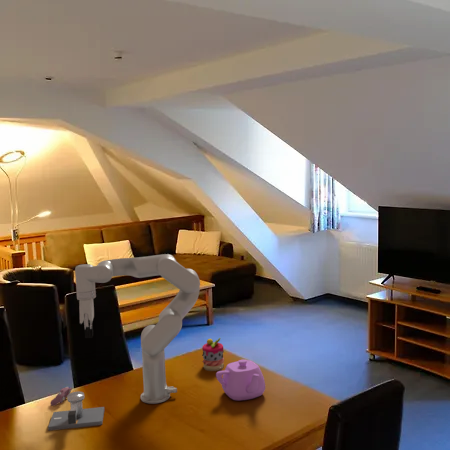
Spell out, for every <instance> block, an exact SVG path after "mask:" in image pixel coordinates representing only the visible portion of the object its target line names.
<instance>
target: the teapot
mask: <svg viewBox="0 0 450 450" xmlns="http://www.w3.org/2000/svg"><path fill="white" fill-rule="evenodd" d="M262 372H263V371H262V370H261V368H260V366H259V365H258V364H257V363H255V362H254V361H253V360H250V359H245V358H244V359H238V361H233V362H230V363H228V364H227V365H226V367H225V368H224V370H218V371H217V372H216V373H215V378H216V379H217V381H218V382H219V384H220V385H221V387H222V389H223V391H224V393H225V395H226V396H227V397H229V398H230V399H231V400H233V401H247V400H253V399H256V398H258V397H260V396H263V394H264V392H265V391H266V383H265V382H266V381H265V378H264V375H263V373H262Z"/></svg>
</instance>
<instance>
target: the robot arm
mask: <svg viewBox="0 0 450 450" xmlns="http://www.w3.org/2000/svg"><path fill="white" fill-rule="evenodd" d="M74 271H75V272H74V275H75V276H74V277H75V286H76V287H75V288H76V299H77V301H78V303H79V304H78V305H79V308H78V309H79V324H80V325H82V324H83V325H84V328H83V329H84V330H83V331H84V338H85V339H93V337H94V327H93V321H94V318H95V307H94V305H95V304H94V299H95V298H96V297H97V294H96V293H97V291H96V283H98V284H99V283H101V284H104V283H108V282H110V281H111V280H112V278H113V277H119V276H131V277H134V278H139V279H142V278H149V277H155V276H157V277H158V276H160V277H161V278H163V279H164V280H166V281H167V282H169V283H170V284H171V285H173V287H176V288H177V289H179V290H178V292H177V294H176V295H175V296H174V298H173V299H172V300H171V301H170V302H169V303H168V305H166V307H164V308H163V310H162V311H160V313H159V315H158V322H156V324H149V325H147V326H145V327H144V328H143V330H142V331H141V335H140V347H141V358H142V364H141V365H142V378H143V379H142V380H143V392H142V393H141V394H140V400H141V402H143V403H145V404H152V405H154V404H160V403H163V402H166V401H168V400H169V399H170V398H171V394H172V393H175V394H176V393H178V388H177V387H174V386H169V385H167V378H166V377H167V376H166V358H165V357H166V355H165V354H166V353H165V349H166V348H168V346H169V345H170V343H171V342H172V341H173V340H174V339H176V337H177V336H178V335H179V334H180V332H181V330H182V327H183V319H185V317H186V316H187V314H188V313H189V312H190V311H191V310H192V308H193V307H194V306H195V304H196V302H197V301H198V299H199V295H200V291H201V290H200V289H201V287H200V286H201V280H200V278H199V275H198V273H197V272H196V271H195V269H194V270H193V269H192V268H185V266H183V265H182V264H180V263H179V262H178V261H177V259H176V258H175V257H174V256H173V255H172V254H169V253H167V254H166V253H164V254H163V253H162V254H156V255H148V256H139V257H125V258H124V257H122V258H113V259H112V258H111V259H106V260H101V261H100V262H98V263H97V265H93V264H91V263H90V264H89V263H87V264H79V265H76V266H75V269H74Z"/></svg>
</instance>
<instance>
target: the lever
mask: <svg viewBox="0 0 450 450" xmlns="http://www.w3.org/2000/svg"><path fill="white" fill-rule="evenodd" d="M84 400H85V393H84V392H83V391H71V392H70V394H68V396H67V399H66V401H67V402H68V403H70V404H69V405H70V411H69V410H68V411H69V413H68V424H76V421H77V418H80V417H82V416H83V409H84V408H83V401H84Z"/></svg>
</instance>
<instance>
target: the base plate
mask: <svg viewBox="0 0 450 450" xmlns="http://www.w3.org/2000/svg"><path fill="white" fill-rule="evenodd" d="M82 409H83V416H82V417H80V418H77V421H76V424H68V413H69V411H70V410H61V411H59V410H58V411H53V413H52V416H51V419H50V420H49V424H48V426H47V429H48V431H56V430H65V429H67V430H68V429H75V428H85V427H95V426H103V421H104V414H105V406H99V407H89V408H82Z"/></svg>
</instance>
